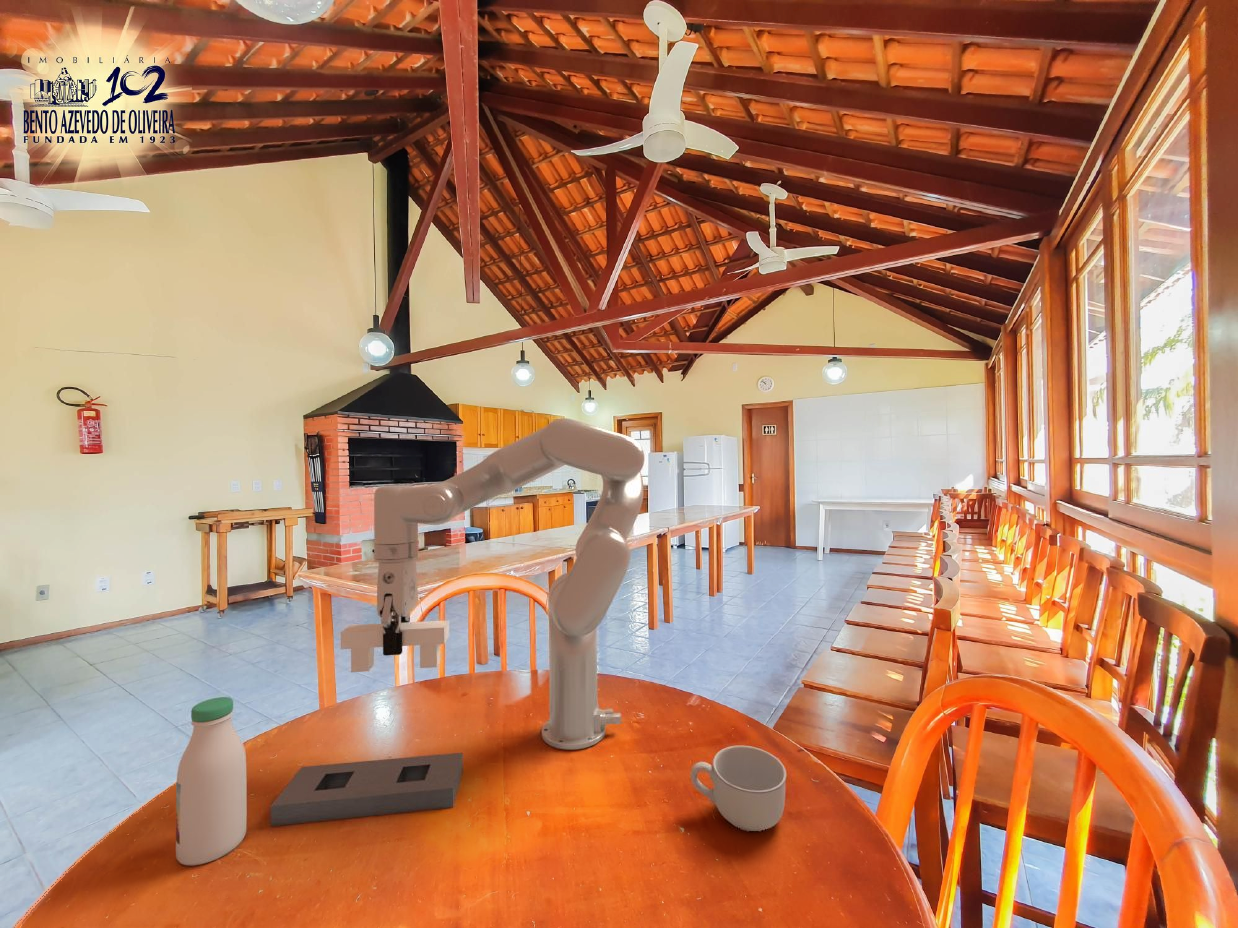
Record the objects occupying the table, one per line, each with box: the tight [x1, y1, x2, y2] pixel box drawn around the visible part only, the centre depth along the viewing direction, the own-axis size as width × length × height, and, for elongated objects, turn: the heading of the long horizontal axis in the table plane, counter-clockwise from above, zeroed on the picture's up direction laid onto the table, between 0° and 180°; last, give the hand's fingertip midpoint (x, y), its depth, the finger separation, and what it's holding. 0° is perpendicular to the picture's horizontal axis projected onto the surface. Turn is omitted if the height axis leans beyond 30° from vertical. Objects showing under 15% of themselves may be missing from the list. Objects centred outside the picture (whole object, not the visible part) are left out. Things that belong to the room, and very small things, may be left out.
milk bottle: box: [175, 696, 248, 867], centre depth 71 cm, size 8×8×20 cm
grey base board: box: [269, 752, 464, 827], centre depth 82 cm, size 26×10×3 cm, turn 99°
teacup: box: [690, 745, 787, 832], centre depth 77 cm, size 14×11×8 cm
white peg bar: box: [340, 620, 450, 673], centre depth 95 cm, size 18×4×8 cm, turn 98°
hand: (396, 648), depth 95 cm, fingers closed on white peg bar, 4 cm apart
